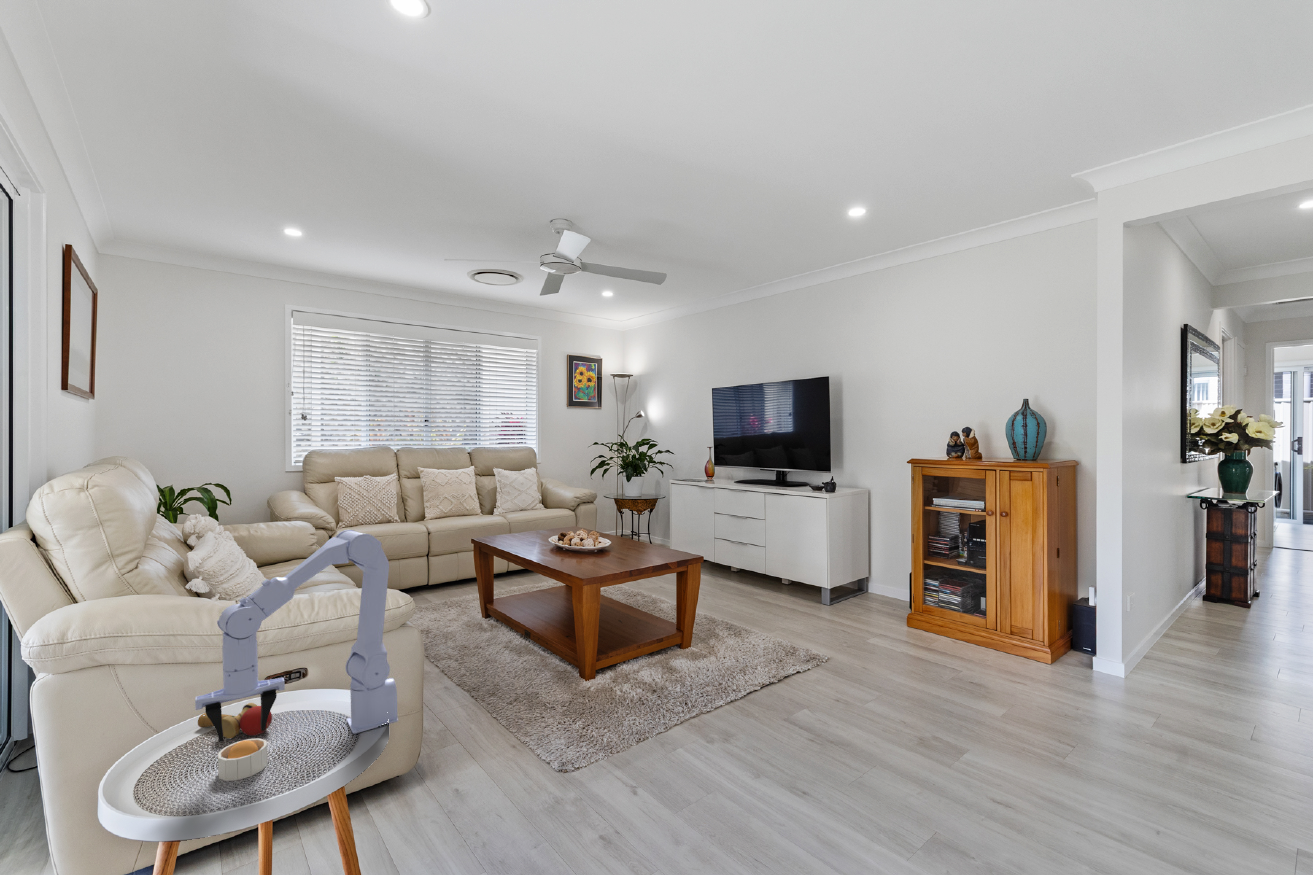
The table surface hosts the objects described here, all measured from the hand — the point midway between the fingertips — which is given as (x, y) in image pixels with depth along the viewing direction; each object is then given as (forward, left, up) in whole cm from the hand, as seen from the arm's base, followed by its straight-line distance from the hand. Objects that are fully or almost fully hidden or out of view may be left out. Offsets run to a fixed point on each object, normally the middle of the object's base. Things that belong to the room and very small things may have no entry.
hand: (242, 734), depth 121 cm
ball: (0, 0, -4) cm, 4 cm away
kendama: (+1, -20, -7) cm, 21 cm away
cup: (0, 0, -7) cm, 7 cm away
